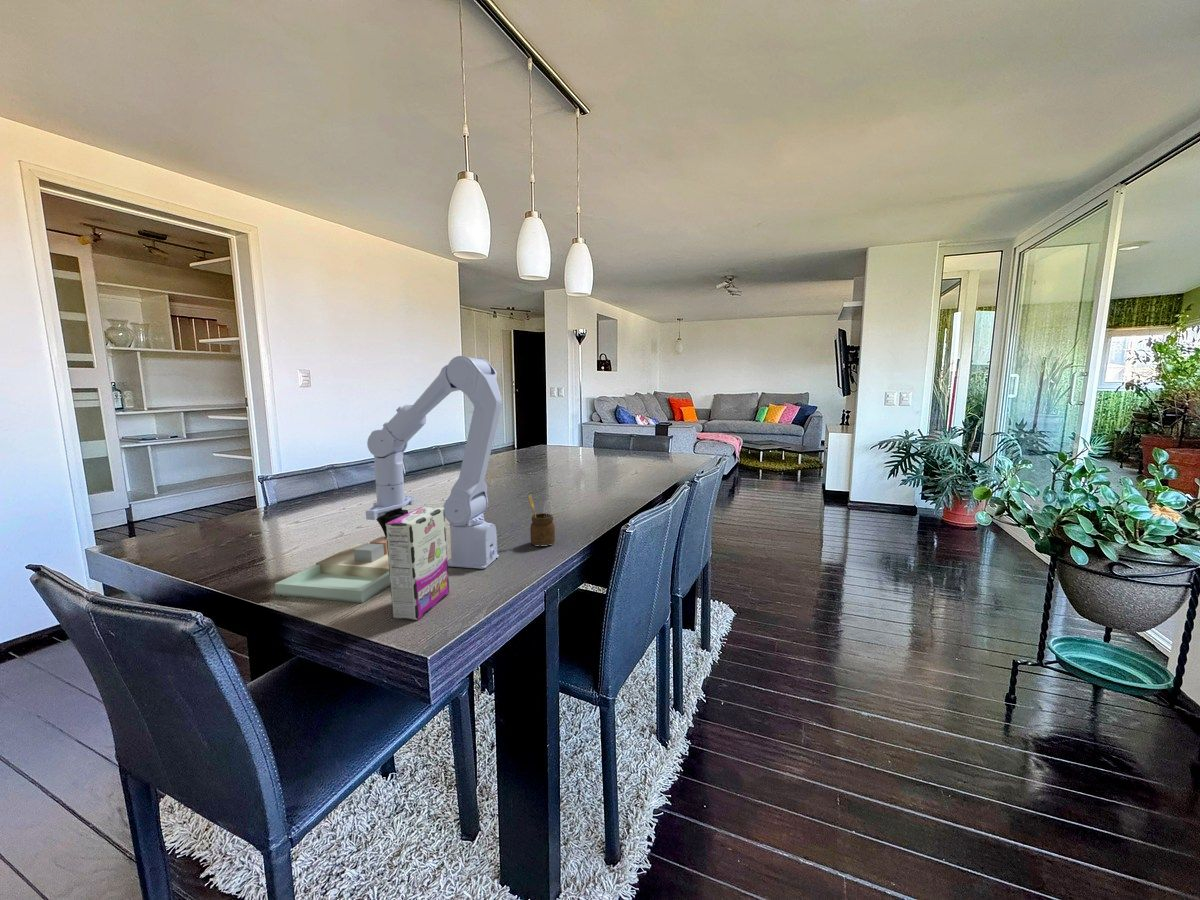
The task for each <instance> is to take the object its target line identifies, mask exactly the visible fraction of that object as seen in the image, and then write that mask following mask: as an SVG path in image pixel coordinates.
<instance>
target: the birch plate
mask: <svg viewBox="0 0 1200 900" xmlns="http://www.w3.org/2000/svg"><path fill="white" fill-rule="evenodd" d="M364 544H365V543H357V544H355V545H353V546H351V547H348V548H346V549H344V550H342V551H340V552H337V553H335V554H333V555H331V556H328V557H326V558H324V559H321V560H320V561H318V562H315V565H320V569H321V573H322V574H334V575H347V576H359V577H372V578H379V577H380V576H382V575H384V574H385V573H387V572H389V562H388V554H384V556H383V557H381V558H379V559H377V560H375V561H374V562H359V561H355V560H354V549H356V548H358V547H360V546H362V545H364Z"/></svg>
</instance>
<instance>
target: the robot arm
mask: <svg viewBox="0 0 1200 900" xmlns="http://www.w3.org/2000/svg"><path fill="white" fill-rule="evenodd" d="M497 377H498V372H497V371H496V369H495V368H494V367H493V365H492V364H491V363H490V362H489V361H488V360H486V359H485V358H479V357H478V358H477V357H468V356H466V355H456V356H455V357H453V358H452V359H450V360H449V362H448V364H446V365H444V366H443V367H442V368H441V369H440V372H439V374H438V375H437V376H436V377H435V379H434V380H433V381H432V382H431V383H430V385H428V387H426V389H425V390H424V392H423V393H421V395H420V396H419V398H417V399H416V401H415V402H414V403H413V404H405V405H403V406H398V407H397V409H396V410H395V411H396V412H397V413H395V414H394V416H393V417H392V418H391V419H390V420H389V421H387V422H384V424H382V428H381V429H375V430H373V431H371V433H370V435H369V436H368V438H367V441H366V442H367V443H366V444H367V445H366V446H367V448H368V451H369V452H370V454H372V455H373V460H374V477H375V494H376V501H375V502H373V503H372V507H370V508H369V509H367V510H365V520H368V521H369V520H370V521H371V520H372V521H377V522H378V524H379V525H380V527H381V529H382V531H383V534H384V537H387V536H386V525H385V524H386V523H388V522H390V521H392V520H394V519H397V518H399V517H401V516H403V515H405V514H407V513H409V509H403V508H405V507H408V506H412V505H414V504H415V502H414V499H415V498H414V496H413V495H412V496H411V495H405V483H404V482H405V481H404V466H403V465H404V463H403V460H404V453H405V451H406V450H407V448H408V443H409V441H410V440H411V439H412V438H413V437H414V436H415V435H416V434H417V433H418V432H419V431H420V430H421V429H422V428H423V427H424V426H425V425H426V424H427V415H428V414H429V413H430V412H431V411H432V410H433V409H434V408H435V407H437V406H438V405H439V404H440V403H441V402H442V401H444V400H445V398H446V397H448V396H449V395H450V394H451V393H452V392H457V391H461V392H462V393H463V394H465V395H466V396H467V398H468V399H469V401H470V402H471V403H472V404H473V406H474V407H473V412H472V416H471V421H470V425H469V430H468V435H467V439H466V445H465V449H464V452H463V453H464V454H463V457H462V461H461V467H460V471H459V476H458V479H456V482H455V483H454V484H453V486H452V488H451V491H450V495H449V496H448V498H447V499H446V500H445V501H444V503H443V507H442V508H444V514H445V520H446V521H447V522H448V523H449V536H450V558H449V559H447V563H448V567H451V568H453V567H454V568H466V569H481V570H482V569H484V570H485V569H486V568H488V566H490V565H491V564H492V563H493V562H494V561H495V560H497V559H498V558H499V557H500V555H499V554H498V534H497V533H498V531H497V527H496V524H495V523H491V522H487V521H485V517H484V516H485V515H484V512H486V510H487V509H488V506H489V498H488V494H487V493H488V484H487V483H486V481H485V479H486V475H487V470H488V466H489V462H490V457H491V453H492V449H493V444H494V440H495V435H496V431H497V428H498V427H497V426H498V422H499V418H500V413H501V409H502V405H503V403H502V402H503V398H502V396H501V395H502V394H501V392H500V387H499V384H498V381H497ZM496 558H497V559H496Z"/></svg>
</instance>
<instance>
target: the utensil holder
mask: <svg viewBox="0 0 1200 900" xmlns="http://www.w3.org/2000/svg"><path fill="white" fill-rule="evenodd" d="M527 498H528V501H529V505H530V508H531V509H532V513H533V515H532V516H531V523H530V528H529V531H530V532H529V533H530V534H529V535H530V536H529V537H530V544H531V545H532V544H533V545H539V546H541V545H549V544H553V543H554V542H555V543H556V528H555V527H556V526H555V523H554V516H553V512H554V507H555V506H554V505H555V503H554V502H553V500H551V499H548V500H546V501H545V502H544V503H545V504H544V506H543V510H548V506H546V505H549V502H550V506H549V507H552V509H551V510H549V513H548V512H543V513H542V512H540V513H536V511H535V504H534V500H533V497H532V494H529V495H528V496H527ZM552 503H553V505H552ZM545 507H546V508H545ZM555 543H554V544H555ZM554 544H553V545H554ZM533 545H532V546H533Z"/></svg>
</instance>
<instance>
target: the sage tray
mask: <svg viewBox="0 0 1200 900" xmlns="http://www.w3.org/2000/svg"><path fill="white" fill-rule="evenodd" d="M388 587H390V573H389V572H387V573H385V574H384V575H382V576H380V577H379V578H372V577H359V576H347V575H334V574H322V573H321V569H320V565H316V564H314V565H311V566H310V567H307V568H305V569H303V570H301V571H299V572H296V573H294V574H292V575H291V576H288V577H286V578H284V579H282V580H281V579H280V580H279V581H277V582H275V583H274V591H275V592H274V593H275V596H280V595H282V596H281V597H293V598H301V599H302V598H305V599H314V600H316V599H317V600H326V601H337V602H347V603H356V604H357V603H358V604H359V603H360V604H363V603H364V602H366V601H367V600H370V599H371V598H373V597H374V596H376V595H377V594H378V593H380V592H382V591H383V590H385V589H387V588H388Z"/></svg>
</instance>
